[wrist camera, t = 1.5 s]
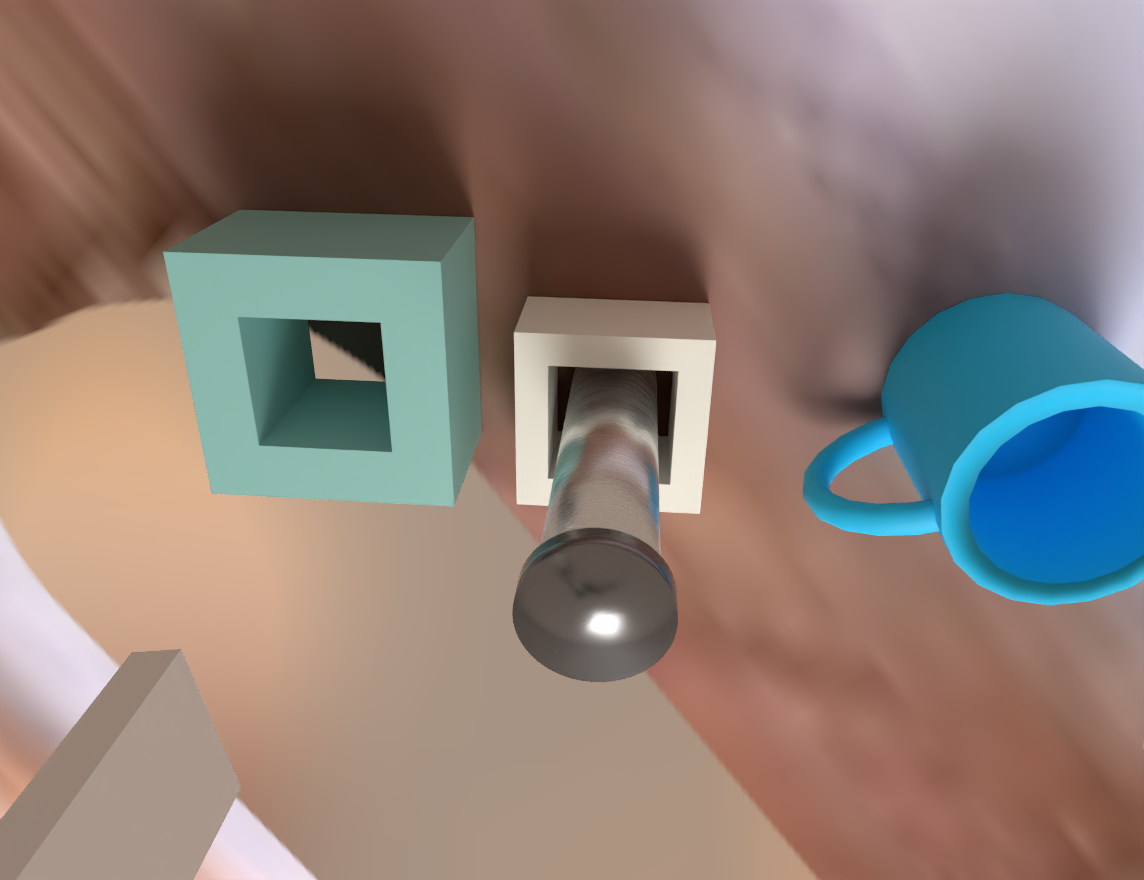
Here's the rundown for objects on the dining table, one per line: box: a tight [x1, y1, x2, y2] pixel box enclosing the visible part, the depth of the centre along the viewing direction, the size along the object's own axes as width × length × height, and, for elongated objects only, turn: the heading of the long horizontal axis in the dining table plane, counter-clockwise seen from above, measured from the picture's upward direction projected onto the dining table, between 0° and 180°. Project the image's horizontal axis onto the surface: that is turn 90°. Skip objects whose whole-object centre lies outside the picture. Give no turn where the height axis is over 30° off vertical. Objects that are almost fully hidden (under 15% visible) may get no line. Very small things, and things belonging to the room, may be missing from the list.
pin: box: [513, 367, 678, 682], centre depth 29 cm, size 4×4×15 cm
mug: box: [803, 293, 1144, 605], centre depth 32 cm, size 12×8×8 cm
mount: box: [514, 296, 716, 514], centre depth 34 cm, size 7×7×4 cm
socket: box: [163, 210, 482, 506], centre depth 33 cm, size 9×9×6 cm
